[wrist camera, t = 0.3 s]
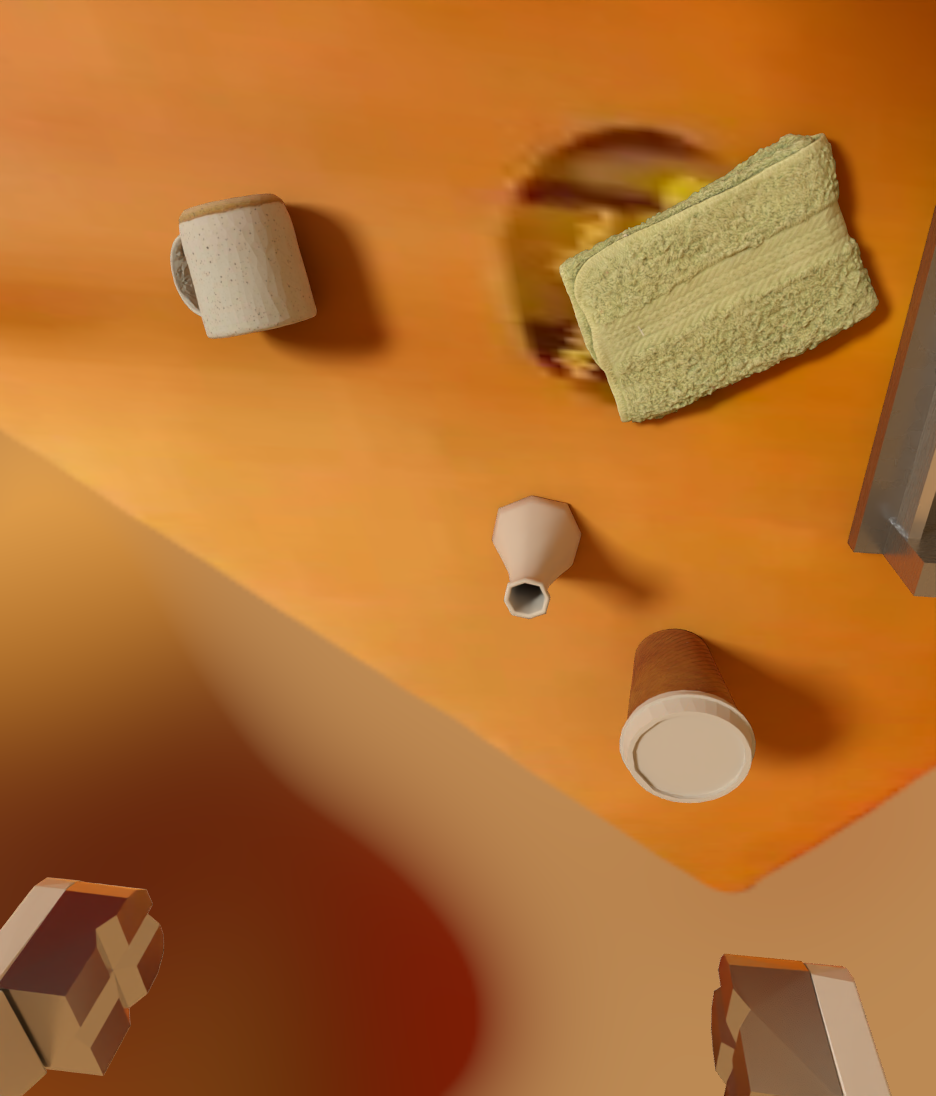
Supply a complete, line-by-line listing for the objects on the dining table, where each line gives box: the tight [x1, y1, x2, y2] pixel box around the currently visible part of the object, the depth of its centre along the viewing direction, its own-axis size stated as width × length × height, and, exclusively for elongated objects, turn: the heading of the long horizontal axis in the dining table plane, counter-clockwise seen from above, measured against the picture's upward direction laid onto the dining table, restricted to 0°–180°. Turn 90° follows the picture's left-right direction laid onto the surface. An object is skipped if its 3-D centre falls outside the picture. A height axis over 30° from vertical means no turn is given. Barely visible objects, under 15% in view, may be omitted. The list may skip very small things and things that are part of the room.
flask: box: [492, 496, 581, 619], centre depth 55 cm, size 7×7×10 cm
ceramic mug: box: [170, 194, 317, 339], centre depth 50 cm, size 11×8×8 cm
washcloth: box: [559, 133, 879, 422], centre depth 48 cm, size 13×18×3 cm
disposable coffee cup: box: [620, 629, 756, 803], centre depth 58 cm, size 10×10×12 cm
